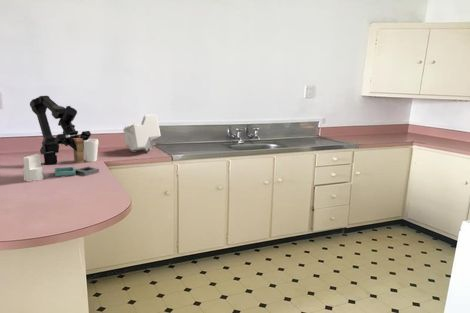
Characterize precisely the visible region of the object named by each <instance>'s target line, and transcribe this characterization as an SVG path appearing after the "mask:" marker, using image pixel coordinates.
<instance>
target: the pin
mask: <svg viewBox="0 0 470 313" xmlns="http://www.w3.org/2000/svg"><path fill="white" fill-rule="evenodd" d="M73 141H74V143H75V145H76V148H77V151H75V150H74V149H73V158H74V159H73V160H74V163H76V164H81V163H85V154H84V149H83V139H82V138H74V139H73Z"/></svg>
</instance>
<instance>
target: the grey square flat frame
mask: <svg viewBox="0 0 470 313" xmlns="http://www.w3.org/2000/svg"><path fill="white" fill-rule="evenodd" d="M75 171H76V174H78V175H81V176H84V175H85V176H86V175H87V176H90V174H91V175H94V174H98V172H99V173H100V168H98V167H97V168H96V167H93V166H84V167H81V168H80V167H79V168H75ZM85 176H84V177H85Z"/></svg>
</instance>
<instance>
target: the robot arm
mask: <svg viewBox="0 0 470 313" xmlns="http://www.w3.org/2000/svg"><path fill="white" fill-rule="evenodd" d="M29 107H30V108H31V111H32V112H33V113H34V114H35V115H36V117H37V120H38V123H39V128H40V130H41V134H42V138H43V139H42V142H41V145H42V146H41V148H40V149H39V152H40V155H43V160H44V165H57V163H58V155H57V154H58V153H59V151H60V145H62V146H65V147H68V146H69V147H70V148H71V149H73V151H74V150H75V151H77V148H76V145H75V143H74V141H73V139H74V138H82V139H83V150H84V141H86V140H88V139H90V137H91V135H92V133H91V131H89V130H85V131H82V132H81V133H80V134H79V131H78V130H76V128H75V127H76V125H75V124H73V123H72V122H73V121H74V120H75V118H76V117H77V116H76V115H77V114H78V110H77V109H75V108H74V107H71V105H67V106H62V105H58V103H56V102H55V101H54V100H52V98H50V96H49V95H40V96H38V97H36V98H33V99H31V101H30V102H29ZM47 109H48V110H49V111H50V112H51V115H52V118H54V119H55V120H58V119H59V120H58V123H57V125H58V126H59V127H61V129H62V133H59V134H57V135H55V136H56V137H55V136H53V134H52V130H51V127H50V123H49V121H48V117H47V113H46V112H47Z"/></svg>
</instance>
